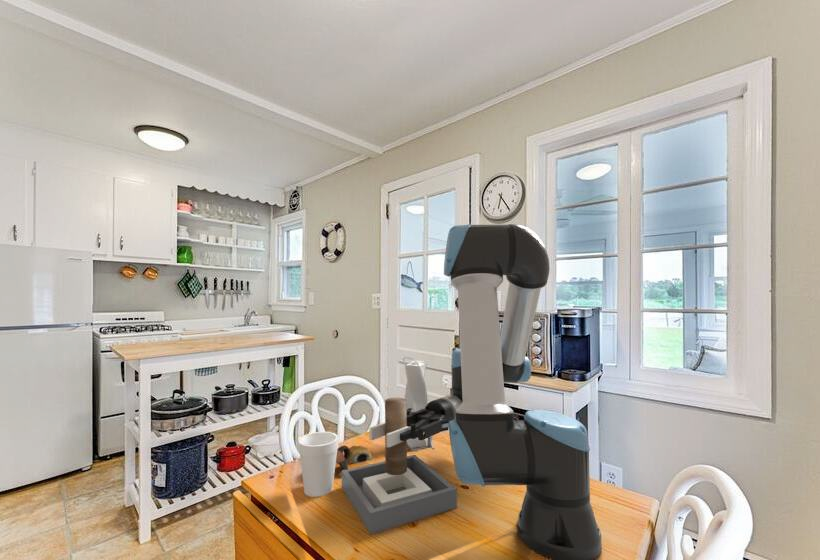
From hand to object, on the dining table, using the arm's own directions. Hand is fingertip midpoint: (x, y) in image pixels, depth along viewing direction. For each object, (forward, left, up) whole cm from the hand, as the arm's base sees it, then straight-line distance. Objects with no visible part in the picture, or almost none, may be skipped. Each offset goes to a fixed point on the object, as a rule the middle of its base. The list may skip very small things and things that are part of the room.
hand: (379, 437), depth 83 cm
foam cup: (+13, +10, -16) cm, 23 cm away
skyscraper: (+27, -24, -16) cm, 40 cm away
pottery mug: (+21, +5, -16) cm, 27 cm away
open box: (+1, -5, -16) cm, 17 cm away
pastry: (+27, -4, -16) cm, 32 cm away
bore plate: (+1, -5, -15) cm, 16 cm away
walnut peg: (+2, -5, -9) cm, 10 cm away
